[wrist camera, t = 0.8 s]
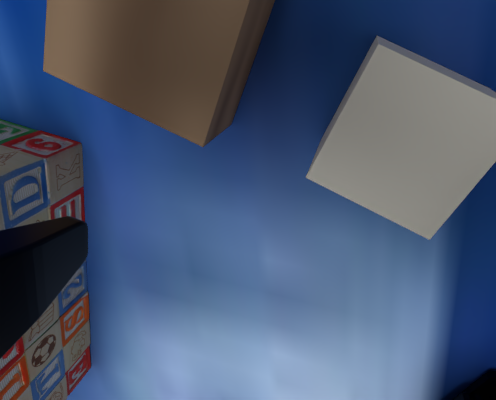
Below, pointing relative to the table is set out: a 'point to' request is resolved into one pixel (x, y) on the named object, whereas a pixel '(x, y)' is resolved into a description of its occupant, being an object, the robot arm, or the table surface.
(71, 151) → the stack of blocks
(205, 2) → the walnut block
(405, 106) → the cream cube
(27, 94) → the table surface
